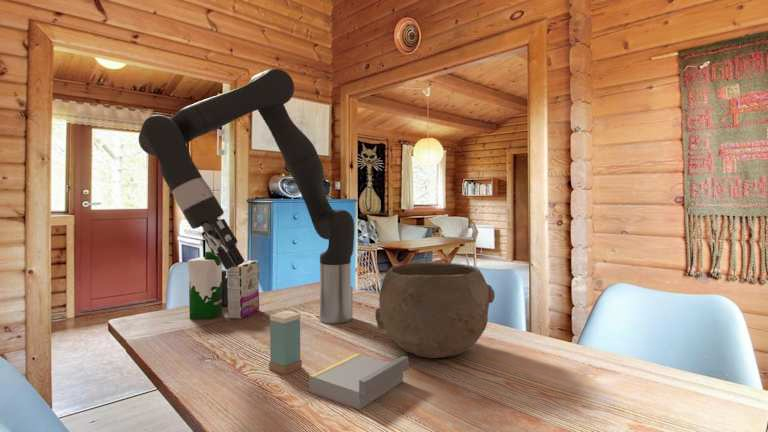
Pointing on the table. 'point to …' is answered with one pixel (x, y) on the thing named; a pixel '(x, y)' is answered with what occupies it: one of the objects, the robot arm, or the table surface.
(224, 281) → the supplement bottle
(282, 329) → the teal tall block
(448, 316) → the bowl
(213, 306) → the milk carton
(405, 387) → the table surface
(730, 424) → the table surface
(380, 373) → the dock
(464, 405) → the table surface
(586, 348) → the table surface
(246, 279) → the candy bar box
